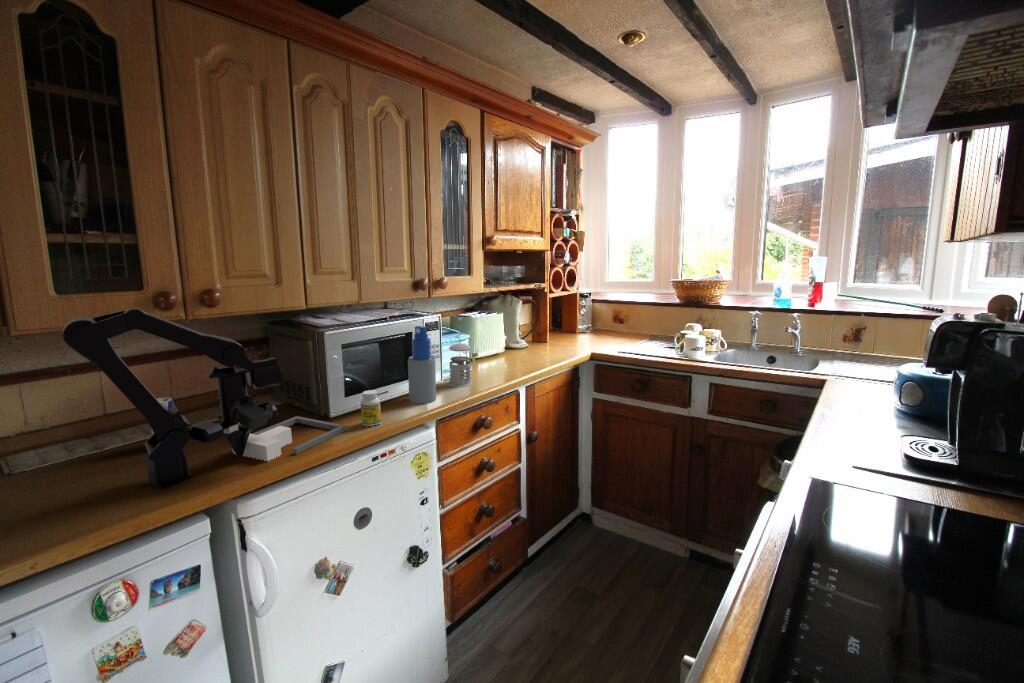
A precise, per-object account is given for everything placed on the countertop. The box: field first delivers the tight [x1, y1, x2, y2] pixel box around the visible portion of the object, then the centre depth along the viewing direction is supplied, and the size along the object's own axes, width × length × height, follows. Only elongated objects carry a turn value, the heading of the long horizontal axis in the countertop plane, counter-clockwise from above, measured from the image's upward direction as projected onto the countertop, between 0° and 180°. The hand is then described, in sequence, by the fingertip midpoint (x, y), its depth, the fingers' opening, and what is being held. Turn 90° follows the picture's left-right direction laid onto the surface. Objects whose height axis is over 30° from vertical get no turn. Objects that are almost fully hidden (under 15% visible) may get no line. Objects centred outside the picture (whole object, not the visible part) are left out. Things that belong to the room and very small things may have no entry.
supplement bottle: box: [360, 389, 382, 427], centre depth 140 cm, size 5×5×10 cm
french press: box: [446, 317, 474, 388], centre depth 181 cm, size 10×12×25 cm
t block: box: [231, 426, 293, 462], centre depth 123 cm, size 11×12×4 cm
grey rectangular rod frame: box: [252, 415, 347, 454], centre depth 131 cm, size 17×18×2 cm
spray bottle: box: [407, 325, 437, 405], centre depth 161 cm, size 9×9×25 cm
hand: (240, 455), depth 116 cm, fingers closed
